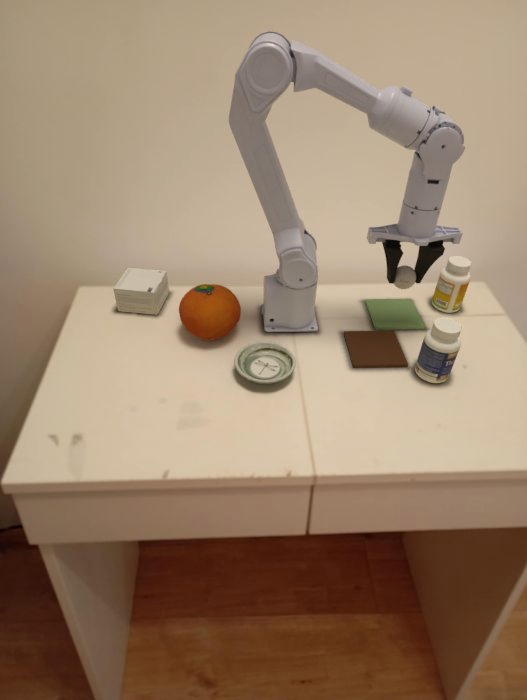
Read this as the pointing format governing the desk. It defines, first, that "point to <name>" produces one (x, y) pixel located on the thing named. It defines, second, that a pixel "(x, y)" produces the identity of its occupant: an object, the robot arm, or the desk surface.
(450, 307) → the supplement bottle
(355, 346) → the walnut mat
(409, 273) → the golf ball
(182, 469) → the desk surface
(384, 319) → the sage mat
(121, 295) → the small box
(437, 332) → the pill bottle
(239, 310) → the fruit
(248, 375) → the saucer
